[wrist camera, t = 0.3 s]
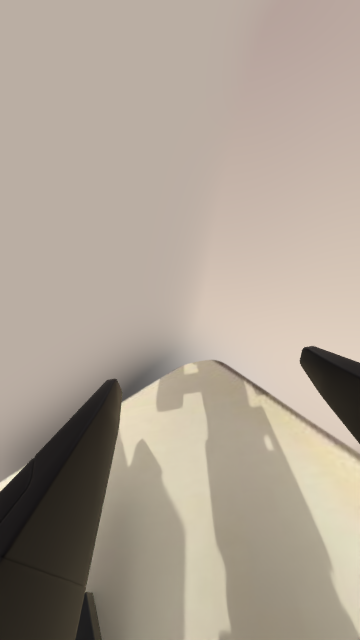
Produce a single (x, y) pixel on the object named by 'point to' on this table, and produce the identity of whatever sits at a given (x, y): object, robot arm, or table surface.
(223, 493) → the table surface
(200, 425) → the table surface
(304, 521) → the table surface
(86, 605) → the black lever base
